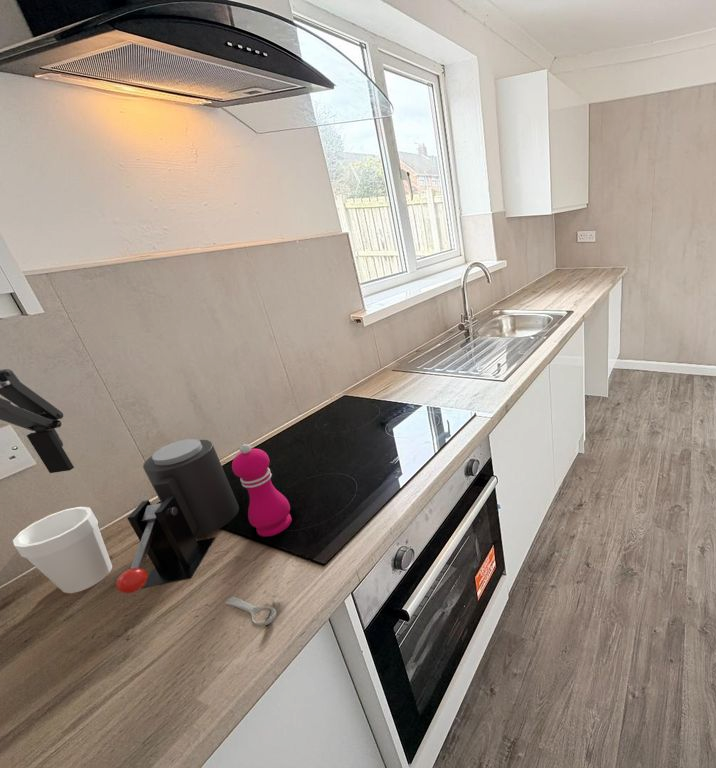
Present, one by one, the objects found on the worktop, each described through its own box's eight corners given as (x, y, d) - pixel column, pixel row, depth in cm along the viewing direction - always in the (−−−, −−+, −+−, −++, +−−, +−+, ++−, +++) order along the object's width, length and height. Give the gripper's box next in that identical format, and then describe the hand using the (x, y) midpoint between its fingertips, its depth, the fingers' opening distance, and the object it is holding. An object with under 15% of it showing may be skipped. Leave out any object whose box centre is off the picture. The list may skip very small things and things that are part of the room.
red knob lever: (148, 593, 65) (133, 586, 62) (122, 598, 64) (106, 591, 61) (175, 509, 74) (163, 500, 71) (153, 513, 73) (140, 504, 71)
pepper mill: (260, 522, 86) (227, 439, 78) (298, 513, 88) (269, 431, 80) (251, 546, 79) (214, 459, 71) (292, 536, 81) (260, 450, 73)
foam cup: (68, 573, 76) (31, 518, 71) (131, 553, 80) (100, 500, 75) (43, 614, 68) (-1, 555, 63) (114, 590, 72) (78, 532, 67)
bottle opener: (266, 632, 62) (261, 623, 62) (217, 612, 67) (212, 603, 67) (283, 615, 65) (278, 606, 64) (235, 597, 70) (230, 588, 69)
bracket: (193, 582, 72) (161, 521, 67) (142, 593, 71) (105, 531, 65) (217, 541, 81) (191, 484, 76) (172, 550, 80) (142, 492, 74)
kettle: (224, 543, 81) (188, 465, 74) (161, 555, 79) (118, 477, 72) (252, 493, 95) (225, 424, 88) (200, 502, 93) (167, 432, 86)
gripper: (-191, 389, 36) (-45, 566, 45) (49, 320, 59) (116, 446, 68) (-296, 400, 35) (-126, 579, 44) (-11, 326, 58) (64, 453, 67)
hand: (21, 499), depth 56 cm, fingers open, 13 cm apart
